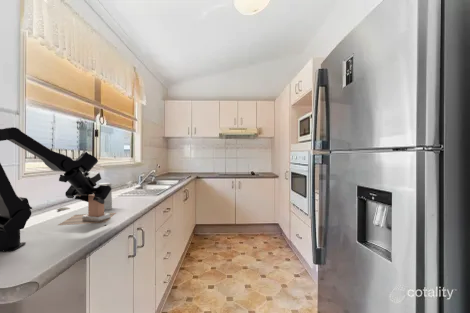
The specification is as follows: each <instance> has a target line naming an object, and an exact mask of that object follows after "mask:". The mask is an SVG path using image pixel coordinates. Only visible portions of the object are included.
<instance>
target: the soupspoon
mask: <svg viewBox="0 0 470 313" xmlns="http://www.w3.org/2000/svg"><path fill="white" fill-rule="evenodd" d="M67 210H71V208H70V207H60V208H57V209H56V211H58V212H63V211H67Z"/></svg>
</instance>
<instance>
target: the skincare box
mask: <svg viewBox="0 0 470 313" xmlns="http://www.w3.org/2000/svg"><path fill="white" fill-rule="evenodd" d="M100 185H109V186H110V187H111V188H112V183H110V182H101V183H97V187H99V186H100ZM112 195H113V194H112V190H111V191H110V192H109V194H108V196H107V197H106V199H104V211H105V210H113V203H112V202H113V200H112V198H113V197H112Z"/></svg>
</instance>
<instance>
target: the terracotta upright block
mask: <svg viewBox="0 0 470 313" xmlns="http://www.w3.org/2000/svg"><path fill="white" fill-rule="evenodd" d="M94 197H95V194H94V193H93V194H92V195H88V202H87V203H88V204H87V205H88V206H87V207H88V209H87V210H88V212H87V214H88V216H97V217H99V216H102V215H104V213H105V210H104V204H101V203H99V202H97V201H94V200H93V198H94Z"/></svg>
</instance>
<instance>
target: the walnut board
mask: <svg viewBox="0 0 470 313" xmlns="http://www.w3.org/2000/svg"><path fill="white" fill-rule="evenodd" d="M109 213H110V218H108V219H105V220H103V221H100V222H94V221H82V216H85V215H88V213H85V214H84V213H83V214H74V215H73V216H70V217H68V218H67V219H65V220H64V221H62V222H60V223H58V226H66V225H83V224H84V225H85V224H86V225H87V224H102V223H103V224H104V223H107V222H108V221H109V220H111V218H113V217H114V215H116V214H117V212H109ZM106 226H107V224H105V225H103V227H106Z"/></svg>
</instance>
